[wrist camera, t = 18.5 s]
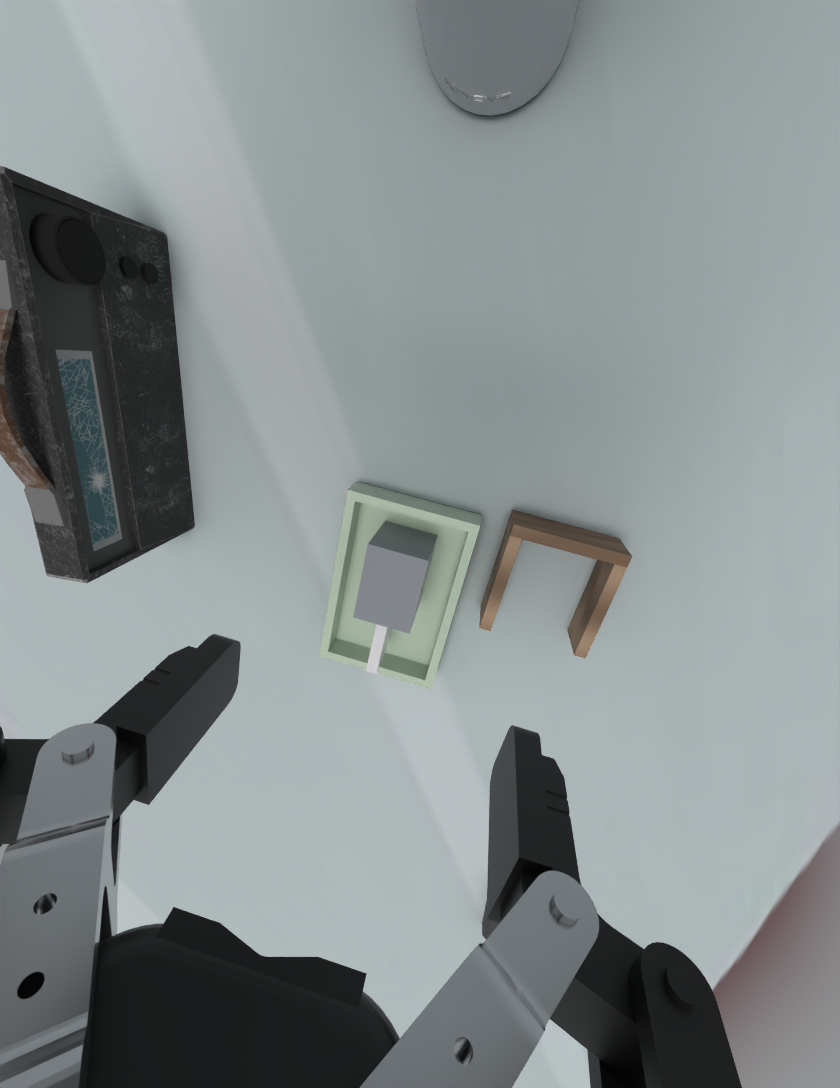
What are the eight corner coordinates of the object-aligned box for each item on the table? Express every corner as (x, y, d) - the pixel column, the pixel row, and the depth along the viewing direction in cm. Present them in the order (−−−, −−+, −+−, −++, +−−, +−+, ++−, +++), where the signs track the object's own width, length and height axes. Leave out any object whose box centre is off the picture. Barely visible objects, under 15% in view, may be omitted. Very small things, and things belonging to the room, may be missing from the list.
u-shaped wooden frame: (512, 510, 39) (513, 524, 36) (619, 538, 39) (632, 556, 35) (481, 605, 43) (479, 627, 39) (577, 633, 43) (585, 658, 39)
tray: (357, 481, 41) (347, 489, 38) (481, 515, 40) (480, 525, 37) (329, 639, 47) (319, 655, 45) (435, 670, 47) (431, 689, 44)
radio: (206, 529, 45) (5, 638, 27) (167, 522, 46) (-57, 625, 27) (181, 235, 36) (-157, 90, 17) (132, 231, 36) (-247, 86, 18)
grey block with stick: (385, 520, 41) (367, 543, 35) (437, 535, 41) (428, 560, 35) (361, 632, 46) (342, 668, 40) (408, 646, 45) (396, 684, 40)
